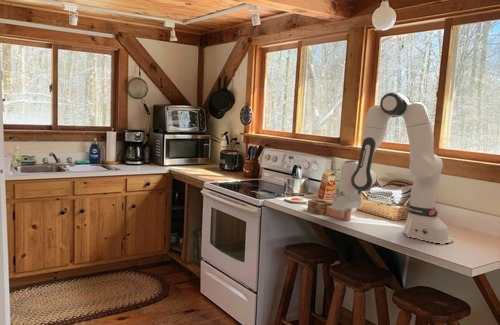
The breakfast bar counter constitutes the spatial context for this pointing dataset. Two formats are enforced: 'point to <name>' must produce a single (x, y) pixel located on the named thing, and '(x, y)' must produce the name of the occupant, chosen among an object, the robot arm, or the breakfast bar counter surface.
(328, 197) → the milk carton
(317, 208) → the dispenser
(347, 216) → the orange rectangular bar
